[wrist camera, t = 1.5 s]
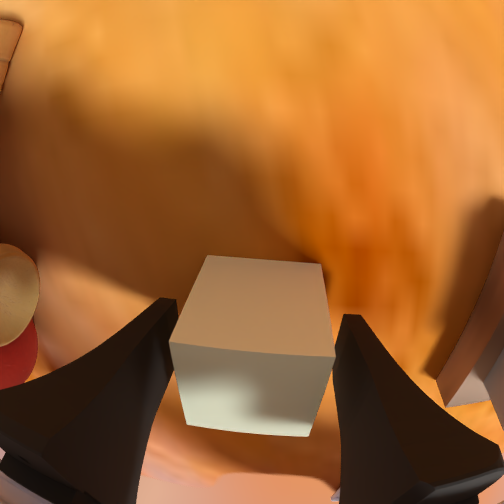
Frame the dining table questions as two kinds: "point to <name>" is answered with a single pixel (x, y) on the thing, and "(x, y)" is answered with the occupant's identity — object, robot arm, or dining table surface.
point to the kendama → (16, 275)
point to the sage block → (254, 346)
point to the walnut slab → (477, 343)
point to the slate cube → (497, 387)
